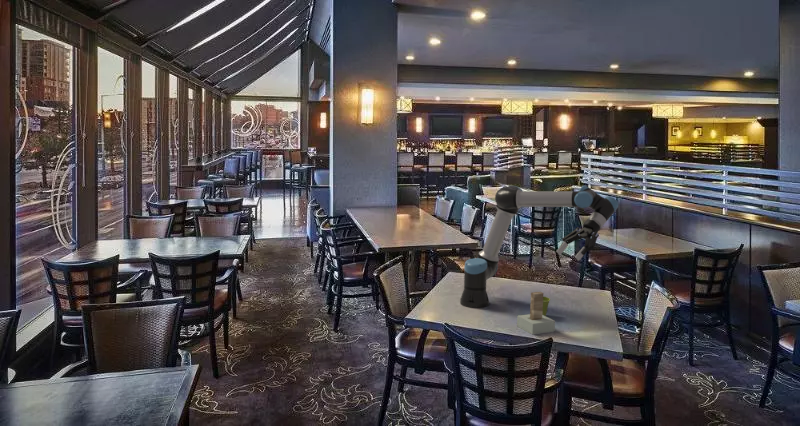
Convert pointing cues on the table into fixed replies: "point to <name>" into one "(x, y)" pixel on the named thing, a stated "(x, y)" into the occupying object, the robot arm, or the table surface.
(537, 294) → the slat
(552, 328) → the end cap
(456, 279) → the table surface
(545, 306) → the plant pot
